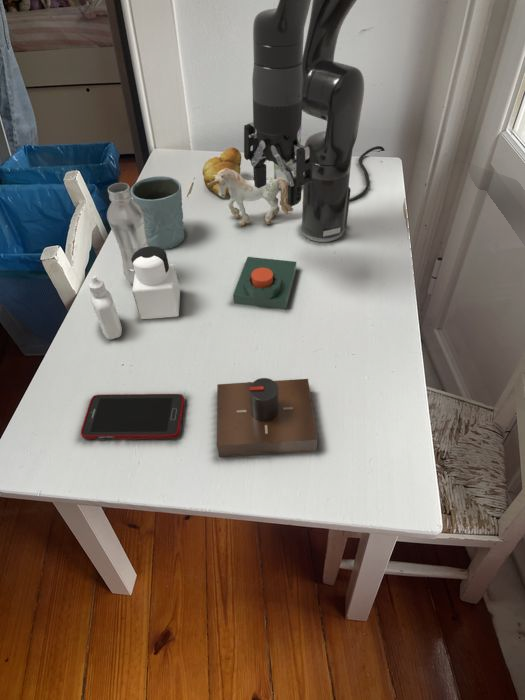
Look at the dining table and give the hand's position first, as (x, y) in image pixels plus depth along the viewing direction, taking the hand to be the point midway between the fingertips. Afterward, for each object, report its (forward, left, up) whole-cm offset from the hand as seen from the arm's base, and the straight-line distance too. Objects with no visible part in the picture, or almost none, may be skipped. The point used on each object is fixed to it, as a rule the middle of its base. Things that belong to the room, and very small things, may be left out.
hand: (276, 194), depth 84 cm
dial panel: (+26, +24, -18) cm, 40 cm away
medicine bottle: (+22, -9, -18) cm, 30 cm away
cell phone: (+40, +10, -18) cm, 45 cm away
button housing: (+4, +1, -18) cm, 18 cm away
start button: (+7, +3, -14) cm, 16 cm away
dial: (+26, +24, -14) cm, 38 cm away
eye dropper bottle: (+32, -10, -18) cm, 38 cm away
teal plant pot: (+8, -27, -18) cm, 33 cm away
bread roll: (-15, -35, -18) cm, 42 cm away
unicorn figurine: (-8, -16, -18) cm, 25 cm away
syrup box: (-27, -24, -18) cm, 40 cm away
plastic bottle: (+20, -18, -18) cm, 32 cm away
